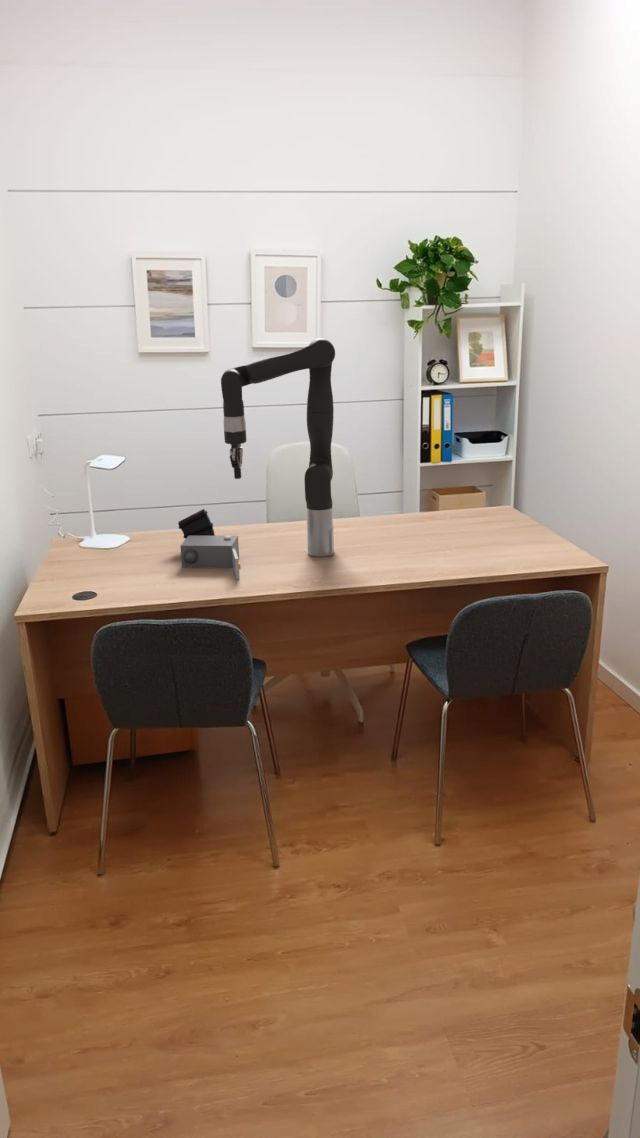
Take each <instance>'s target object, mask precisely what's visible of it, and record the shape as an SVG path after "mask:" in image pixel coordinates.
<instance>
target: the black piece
mask: <svg viewBox="0 0 640 1138" xmlns="http://www.w3.org/2000/svg"><path fill="white" fill-rule="evenodd" d="M177 524H178V529H179V530H181V532H182V533H183V539H184V540H185V539H186V538H187V537H188V536H189V535H196V536H216V535H215V534H216V533H215V531H214V530H215V529H214V523H213V522H211V519H210V516H209V515H208V510H206V509H205V508H203V509H201V510H199V511H197V512H195V513H193V514H191V515H189V516H187V517H185V518H184V519H181V520H179V521H178V523H177Z"/></svg>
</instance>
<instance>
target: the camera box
mask: <svg viewBox="0 0 640 1138" xmlns="http://www.w3.org/2000/svg"><path fill="white" fill-rule="evenodd" d="M239 546H240V545H239V535H215V536H196V535H189V536H188V537H187V538H186V539H185V538H184V540H183V542H182V543H181V544H180V555H181V556H180V559H181V560H180V561H181V568H199V569H200V568H203V569H204V568H208V569H209V568H211V569H213V568H217V569H218V568H220V569H223V568H224V569H225V568H226V569H231V568H232V569H233V562H232V548H235V550H236V553H237V556H238V559H240V548H239Z"/></svg>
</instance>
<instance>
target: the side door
mask: <svg viewBox="0 0 640 1138" xmlns="http://www.w3.org/2000/svg"><path fill="white" fill-rule="evenodd" d="M232 562H233V568H232V569H233V572H234V576H235V578H236V579H237V580H238V579H239V580H240V570H241V562H240V561H239V558H238V556H237V553H236V550H235V548H232Z"/></svg>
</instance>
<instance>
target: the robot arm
mask: <svg viewBox="0 0 640 1138" xmlns="http://www.w3.org/2000/svg"><path fill="white" fill-rule="evenodd" d="M335 358H336V349H335V347H334V345H333V343H332V342H331V341H330V340H329V339H327V338H324V337H317V338H315V339H313V340H312V341H311V342H310V343H309V344H308V345H307V346H305V347H303V348H301V349H299V350H296V351H293V352H290V353H286V354H281V355H276V356H271V357H267V358H263V359H260V360H257V361H253V362H251V363H249V364H245V365H241V366H237V367H232V368H229V369H227V370H225V371H224V372H223V374H222V376H220V377H221V378H220V386H221V387H220V388H221V394H222V395H221V396H222V399H223V400H222V401H223V402H222V406H223V412H222V413H223V433H224V443H225V444H227V445H230V446H231V447H230V448H229V454H230V455H229V460H230V464H231V467H232V469H233V475H234V476H233V477H234V479H235V480H239V479H241V478H242V465H243V455H244V454H243V452H244V449H243V447H242V444H245V443H247V428H246V427H247V426H246V418H245V406H244V401H243V387H246V386H249V385H255V384H260V383H265V382H267V381H270V380H273V379H276V378H279V377H282V376H285V375H288V374H292V373H295V372H297V371H303V370H308V372H309V382H308V392H307V399H306V400H307V401H306V403H307V404H306V427H307V428H306V429H307V435H308V440H309V444H310V445H309V447H310V451H309V452H310V453H309V463H308V468H307V469H306V470H305V473H304V478H303V479H304V480H303V481H304V498H305V503H306V504H305V505H306V531H307V532H306V533H307V554H308V555H309V556H312V557H317V558H319V557H320V558H322V557H324V558H325V557H330V556H333V554H334V551H335V546H334V545H335V542H334V541H335V539H334V537H335V536H334V535H335V534H334V522H333V517H334V516H333V512H334V511H333V499H332V487H331V486H332V485H331V484H332V482H331V481H332V479H333V475H334V471H333V462H332V461H333V460H332V440H333V432H334V431H333V430H334V410H335V409H334V396H333V388H332V365H333V361H334V360H335Z"/></svg>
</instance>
